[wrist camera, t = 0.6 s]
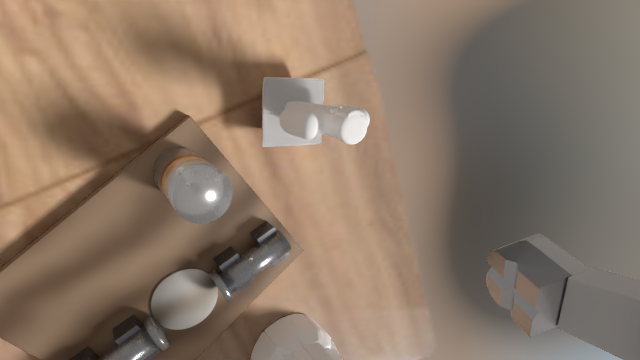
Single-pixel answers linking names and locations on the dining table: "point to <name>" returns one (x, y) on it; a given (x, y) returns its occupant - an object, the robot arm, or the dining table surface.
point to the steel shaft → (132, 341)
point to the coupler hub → (192, 185)
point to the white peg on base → (306, 114)
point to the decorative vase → (295, 341)
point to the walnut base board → (134, 264)
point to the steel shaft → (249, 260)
